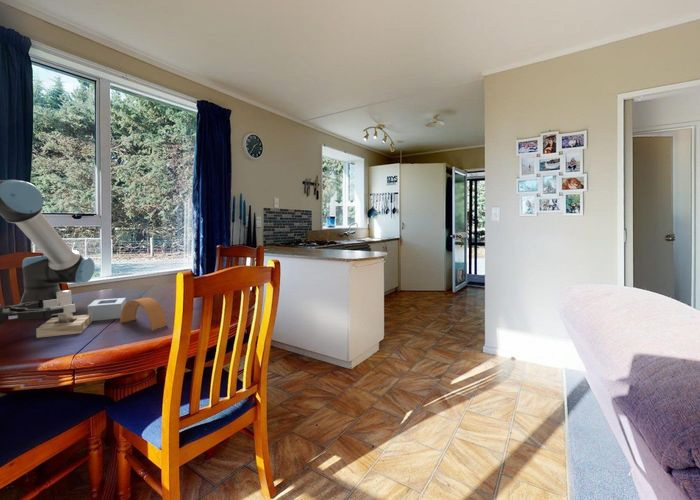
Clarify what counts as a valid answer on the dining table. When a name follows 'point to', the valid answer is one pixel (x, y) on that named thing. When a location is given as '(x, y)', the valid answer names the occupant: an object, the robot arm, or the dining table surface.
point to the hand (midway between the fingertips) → (70, 304)
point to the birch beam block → (64, 326)
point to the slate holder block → (106, 308)
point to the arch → (151, 309)
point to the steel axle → (64, 299)
